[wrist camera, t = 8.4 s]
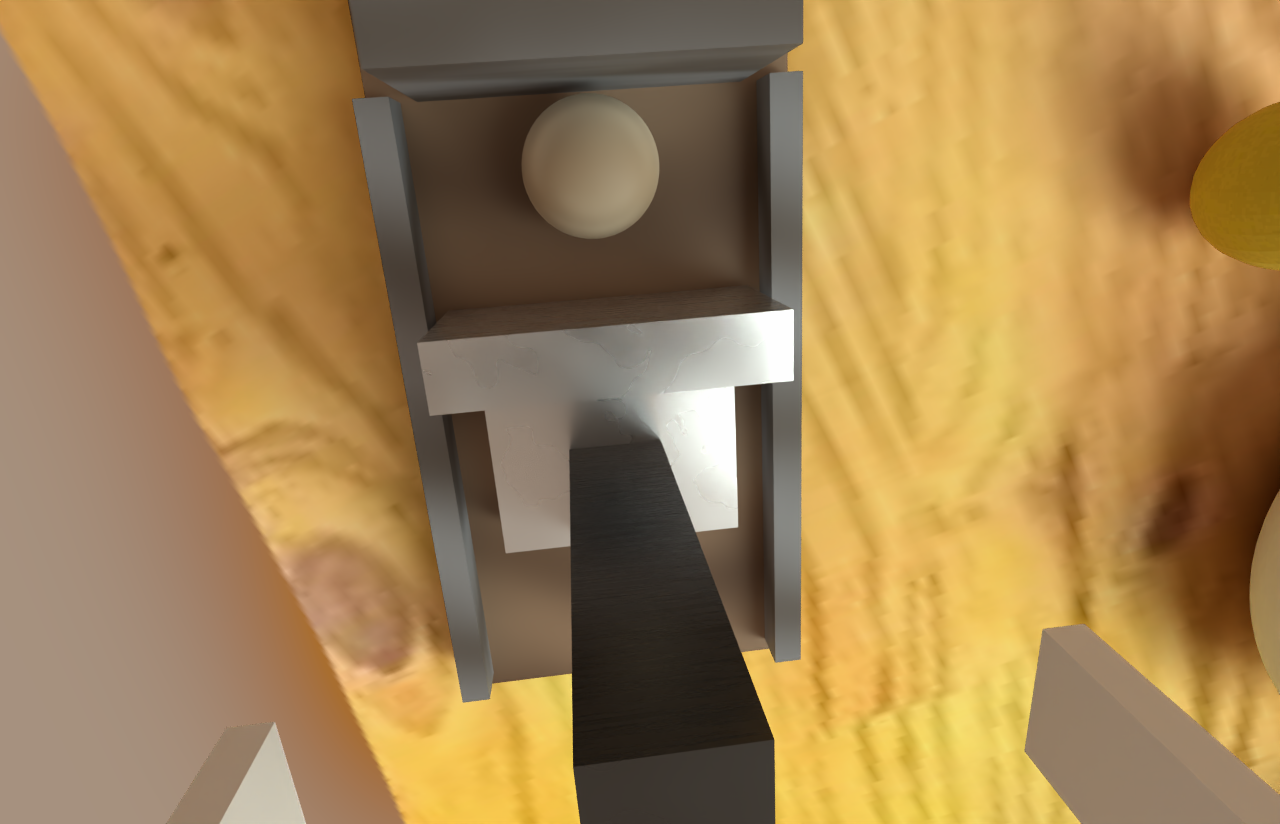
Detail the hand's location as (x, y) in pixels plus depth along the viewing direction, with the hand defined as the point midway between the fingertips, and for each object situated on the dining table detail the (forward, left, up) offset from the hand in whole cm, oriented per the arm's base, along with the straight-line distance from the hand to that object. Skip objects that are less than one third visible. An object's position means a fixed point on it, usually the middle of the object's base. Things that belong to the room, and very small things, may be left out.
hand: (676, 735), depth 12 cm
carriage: (-2, 0, -13) cm, 14 cm away
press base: (-3, 0, -15) cm, 16 cm away
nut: (-10, 0, -12) cm, 15 cm away
